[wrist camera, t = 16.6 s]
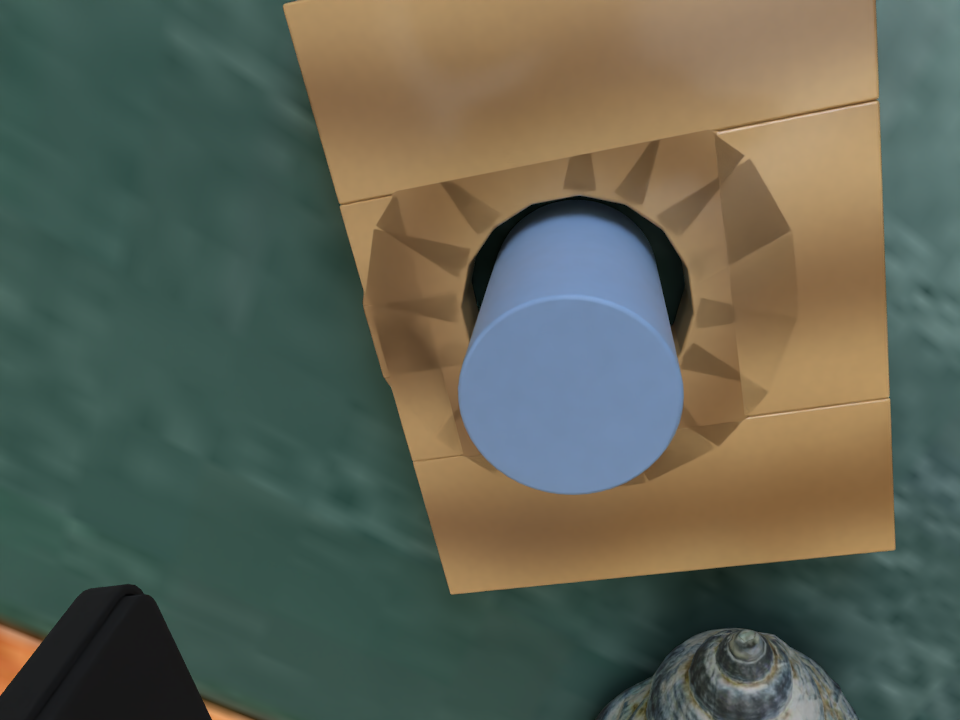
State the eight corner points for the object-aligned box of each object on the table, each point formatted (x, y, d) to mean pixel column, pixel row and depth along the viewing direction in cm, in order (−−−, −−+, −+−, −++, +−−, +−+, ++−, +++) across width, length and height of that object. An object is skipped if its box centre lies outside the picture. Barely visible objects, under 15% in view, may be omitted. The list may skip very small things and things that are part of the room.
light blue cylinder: (479, 215, 22) (434, 315, 16) (645, 184, 21) (668, 276, 15) (512, 362, 23) (483, 508, 17) (667, 339, 23) (697, 482, 16)
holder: (303, 2, 20) (274, 6, 18) (843, -131, 18) (872, -143, 16) (455, 552, 26) (446, 595, 25) (873, 507, 24) (896, 550, 22)
